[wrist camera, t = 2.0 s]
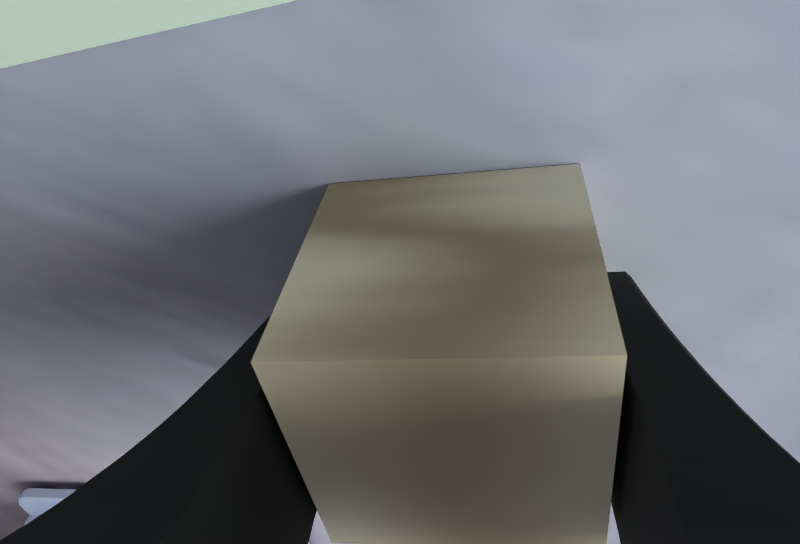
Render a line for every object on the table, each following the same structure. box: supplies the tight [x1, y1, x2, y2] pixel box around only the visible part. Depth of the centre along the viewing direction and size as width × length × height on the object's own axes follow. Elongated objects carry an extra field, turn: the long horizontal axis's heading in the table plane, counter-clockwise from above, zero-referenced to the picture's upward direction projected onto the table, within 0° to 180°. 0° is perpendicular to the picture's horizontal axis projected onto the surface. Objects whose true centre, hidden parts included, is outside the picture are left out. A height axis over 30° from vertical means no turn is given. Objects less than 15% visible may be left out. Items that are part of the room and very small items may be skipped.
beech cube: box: [251, 164, 627, 544], centre depth 10 cm, size 4×4×4 cm
